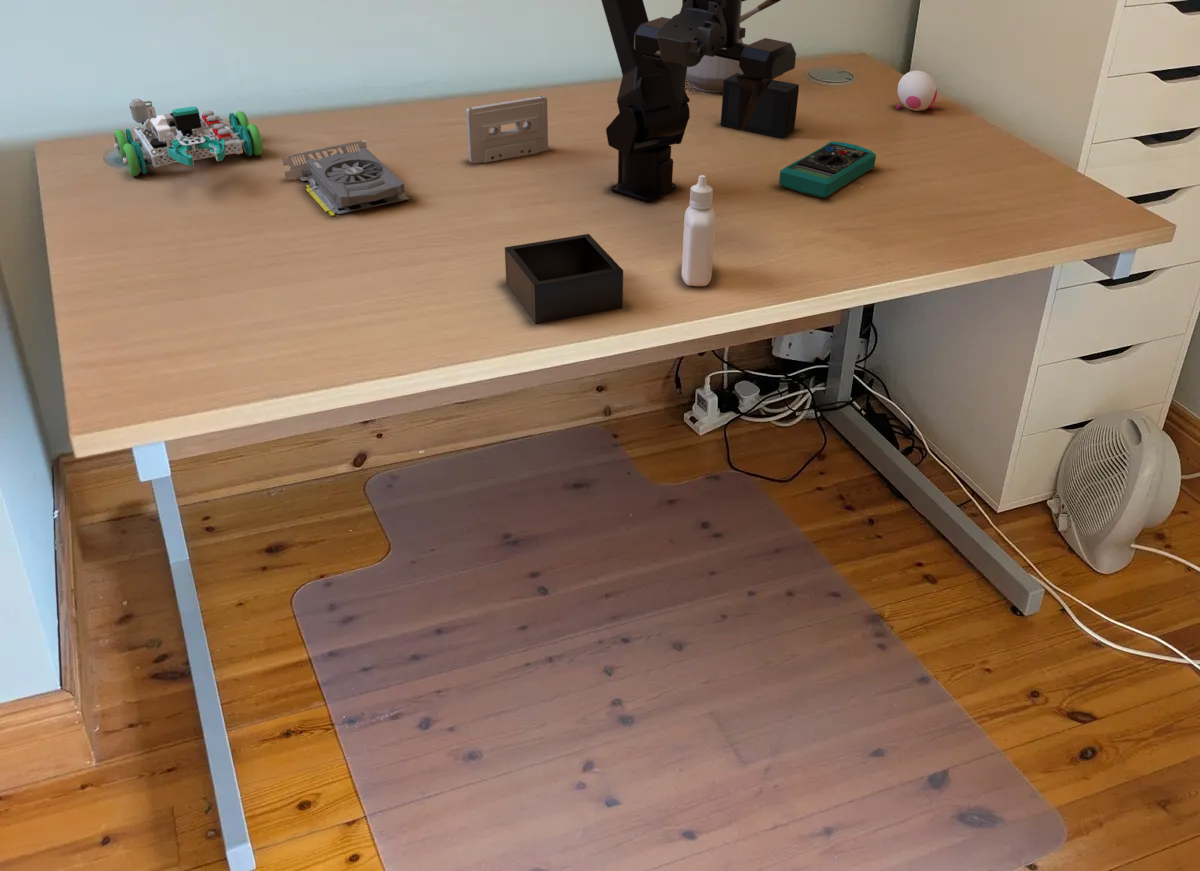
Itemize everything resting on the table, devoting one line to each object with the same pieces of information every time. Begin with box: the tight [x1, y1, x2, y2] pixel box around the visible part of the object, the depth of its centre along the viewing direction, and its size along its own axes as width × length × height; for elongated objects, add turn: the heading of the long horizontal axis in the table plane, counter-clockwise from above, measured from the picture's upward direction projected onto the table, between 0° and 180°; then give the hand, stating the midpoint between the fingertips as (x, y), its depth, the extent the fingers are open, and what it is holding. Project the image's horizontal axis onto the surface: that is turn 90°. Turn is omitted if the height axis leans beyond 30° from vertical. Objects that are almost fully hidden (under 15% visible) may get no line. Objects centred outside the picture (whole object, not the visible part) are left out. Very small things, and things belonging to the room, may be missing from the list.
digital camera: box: [720, 73, 800, 139], centre depth 169 cm, size 10×5×7 cm, turn 58°
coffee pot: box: [686, 0, 780, 94], centre depth 185 cm, size 21×12×15 cm, turn 115°
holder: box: [504, 233, 624, 325], centre depth 124 cm, size 10×10×4 cm
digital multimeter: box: [778, 140, 877, 199], centre depth 154 cm, size 7×15×3 cm, turn 142°
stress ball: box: [896, 70, 938, 112], centre depth 178 cm, size 8×8×7 cm
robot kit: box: [113, 98, 264, 177], centre depth 153 cm, size 19×25×9 cm
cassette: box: [465, 95, 549, 165], centre depth 158 cm, size 12×2×8 cm, turn 118°
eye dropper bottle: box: [681, 174, 716, 287], centre depth 126 cm, size 4×6×12 cm
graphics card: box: [281, 139, 410, 217], centre depth 148 cm, size 17×4×12 cm
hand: (708, 120), depth 134 cm, fingers open, 9 cm apart
